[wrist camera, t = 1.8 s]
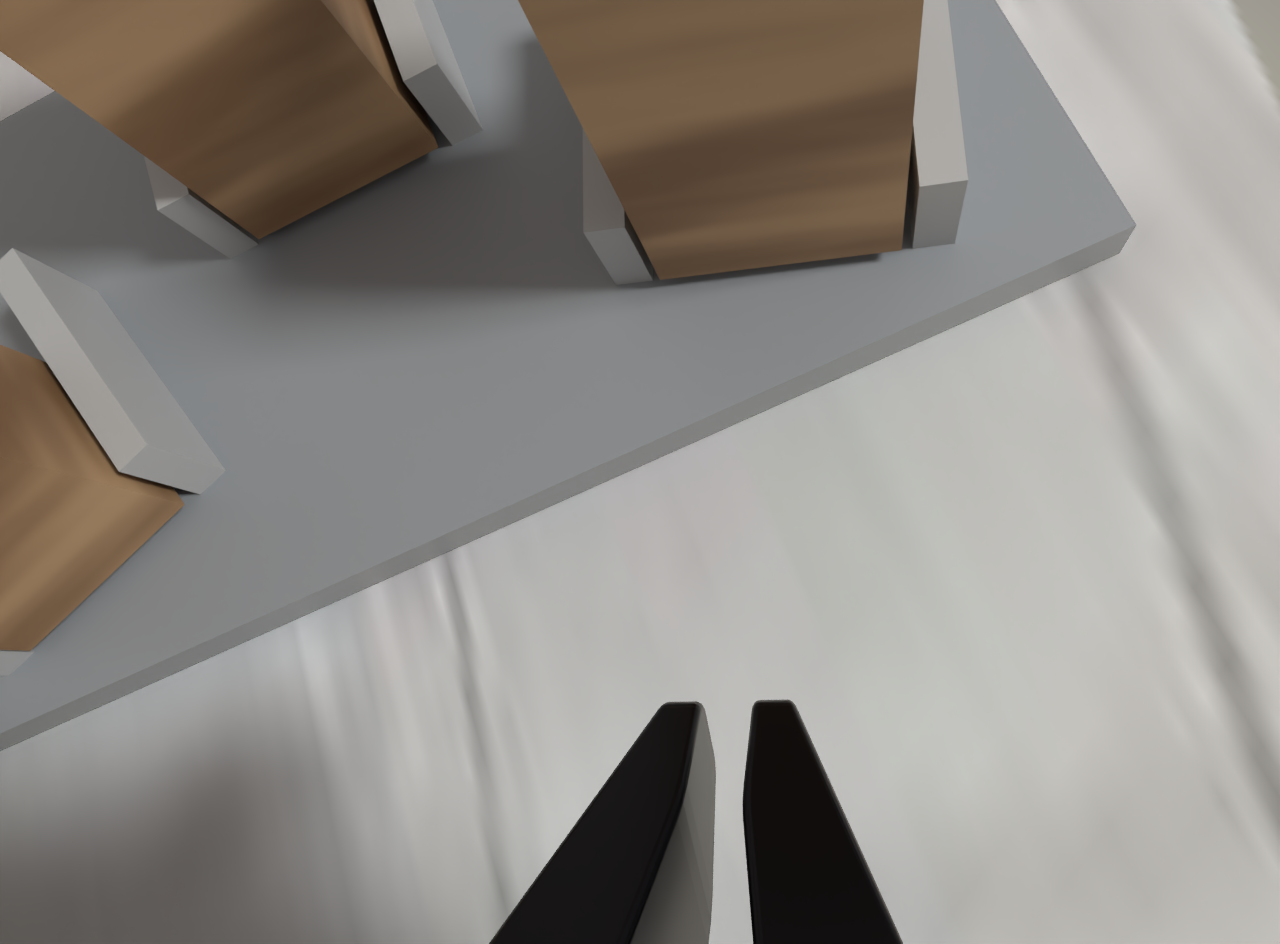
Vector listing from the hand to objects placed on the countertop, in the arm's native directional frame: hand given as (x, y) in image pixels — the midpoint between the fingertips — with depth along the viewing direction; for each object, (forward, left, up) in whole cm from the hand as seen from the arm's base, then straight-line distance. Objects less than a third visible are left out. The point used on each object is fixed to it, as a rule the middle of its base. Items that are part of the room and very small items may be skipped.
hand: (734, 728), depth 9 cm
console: (+17, +6, -14) cm, 23 cm away
